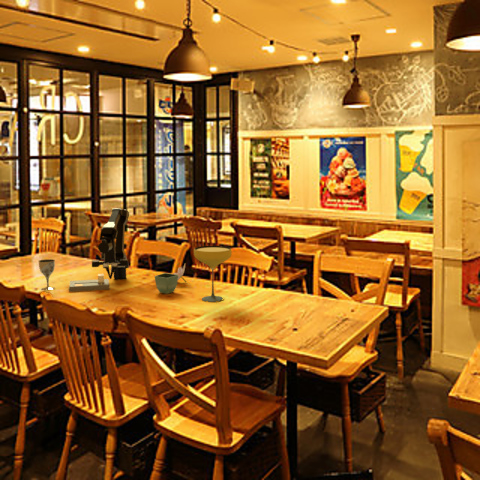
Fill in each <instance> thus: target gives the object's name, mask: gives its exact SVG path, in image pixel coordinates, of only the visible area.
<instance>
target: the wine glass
mask: <svg viewBox="0 0 480 480" xmlns="http://www.w3.org/2000/svg"><path fill="white" fill-rule="evenodd" d="M55 263H56V261H55V259H52V258H51V259H50V258H48V259H47V258H46V259H41V260H40V259H39V260H38V268H39V271H40V273H41V274H42V275H43V276H44V277H45V280H46V286H45V287H42V288H40V290H41V291H52V290H55V289H56V288H55V287H53V286H50V284H49V283H50V279H49V278H50V276H52V274H53V273H54V271H55V267H56V264H55Z"/></svg>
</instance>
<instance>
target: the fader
mask: <svg viewBox="0 0 480 480" xmlns="http://www.w3.org/2000/svg"><path fill="white" fill-rule="evenodd" d="M104 279H105V275H104V273H98V274H97V280H98V283H101V282H104Z"/></svg>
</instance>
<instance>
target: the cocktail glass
mask: <svg viewBox="0 0 480 480" xmlns="http://www.w3.org/2000/svg"><path fill="white" fill-rule="evenodd" d="M193 256H194V258H195V259H197V260H198V261H199V262H201V263H203V264H205V265H207V266H208V267H209V269H210V270H211V272H212V273H211V295H208V296H204V297H202V298H201V300H202V302H206V301H208V302H207V303H217V302H216V301H219V302H221V301H220V300H222V299H223V298H224V297H223V296H221V295H215V288H214V270H215V269H216V268H217V267H218V266H219V265H220V264H223V263H224V262H226V261H228V260H229V259H230V258H231V257H232V247H229V246H225V245H224V246H222V245H221V246H220V245H203V246H197V247H195V248H194V249H193ZM222 297H223V298H222Z"/></svg>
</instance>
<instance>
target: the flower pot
mask: <svg viewBox="0 0 480 480" xmlns="http://www.w3.org/2000/svg"><path fill="white" fill-rule="evenodd" d="M154 281H155V286H156V288H157V291H158V292H159V293H161V294H167V295H168V294H171V293H174V291H175V290H176V288H177V287H178V286H177V285H178V282H179V280H178V275H175V274H173V273H168V272H163V273H159V274H156V275H154Z"/></svg>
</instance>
